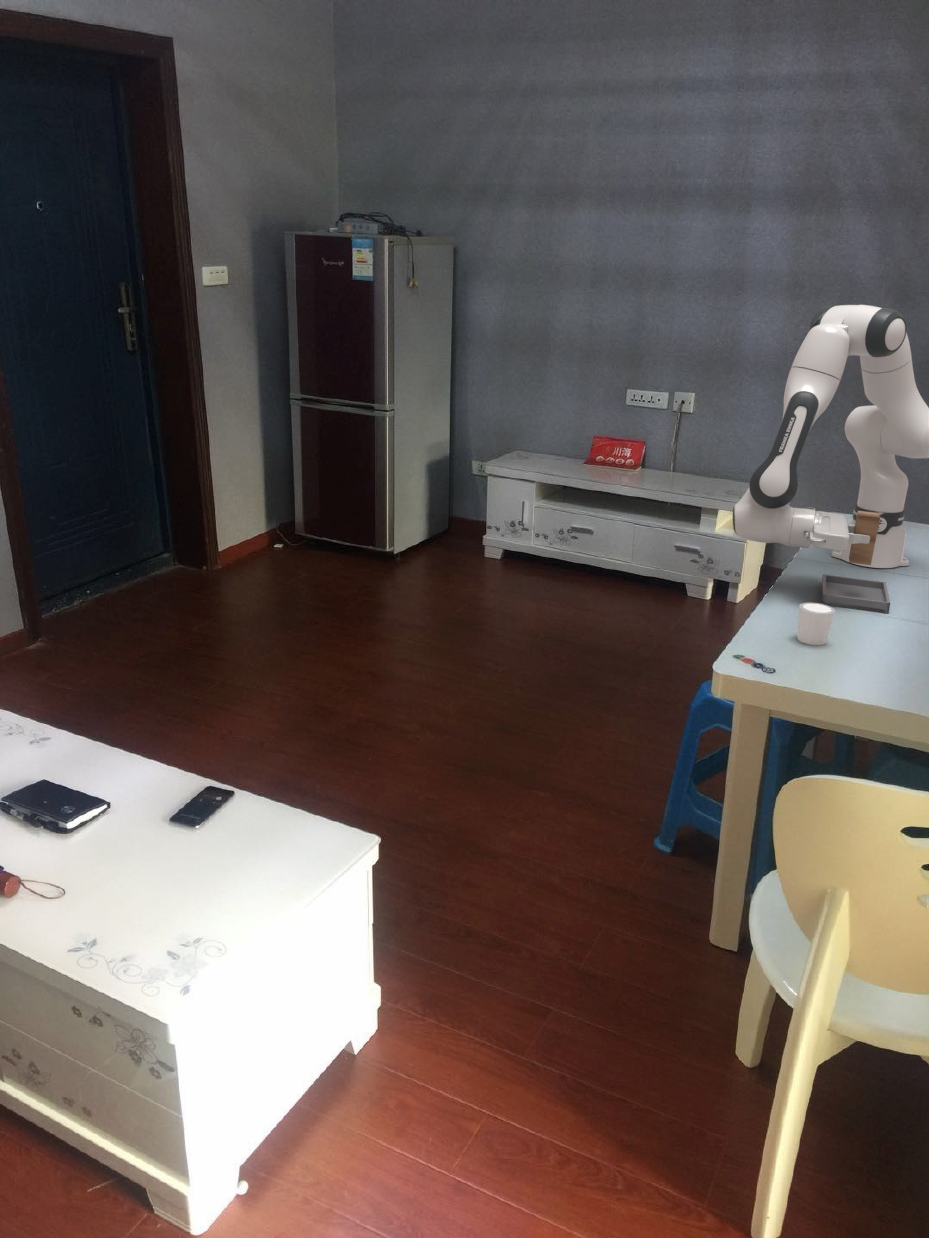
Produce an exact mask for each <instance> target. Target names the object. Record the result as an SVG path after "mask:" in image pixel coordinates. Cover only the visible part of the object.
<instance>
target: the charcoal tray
mask: <svg viewBox="0 0 929 1238" xmlns="http://www.w3.org/2000/svg"><path fill="white" fill-rule="evenodd" d="M820 584H821V585H820V589H821V592H820V594H821V595H820V598H821V599H820V600H821V604H824V605H827V606H830V607H837V608H846V609H852V610H859V611H867V612H874V613H879V614H880V613H881V614H889V613H890V612H889V611H890V608H891V599H890V596H889V595H890V594H889V591H888V587H887V582H886V581H878V580H870V579H863V578H855V577H847V576H841V575H832V574H831V575H830V574H825V573H824V574H822V578H821V583H820Z"/></svg>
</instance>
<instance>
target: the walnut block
mask: <svg viewBox="0 0 929 1238" xmlns="http://www.w3.org/2000/svg"><path fill="white" fill-rule="evenodd" d="M879 522H880V514H879V513H874V512H865V511H858V513H857V518H856V523H855V528H854V534H868V535H870V541H869V543H868V544H864V543H857V544H851V549H850V554H849V562H848V563H849V564H853V563H857V564H864V565H871V561H872V556H873V551H874V546H875V541H876V537H877V532H878V527H879Z"/></svg>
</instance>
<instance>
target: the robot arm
mask: <svg viewBox="0 0 929 1238" xmlns="http://www.w3.org/2000/svg"><path fill="white" fill-rule="evenodd" d="M911 350H912V349H911V346H910V340H909V337H908V333H907V323H906V320H905V318H904V316H903V315H902V313H901V312H899V311H897V310H895V309H893V308H888V307H879V306H875V305H869V304H868V305H867V304H842V305H841V304H839V303H836V304H835V303H834V304H827V305H825V306H822V307H821V308H819V309H818V310H817V311H816V313H815V314H814V315H813V317H812V319H811V321H810V323H809V329H808V333H807V334H806V336H805V338H804V339H803V341H802V343H801V344H800V347H799V349H798V350H797V353H796V355H795V357H794V360H793V361H792V364H791V367H790V369H789V373H788V375H787V376H788V377H787V379H786V383H785V389H784V394H783V411H782V413H783V414H782V420H781V423H780V425H779V428H778V431H777V433H776V437H775V439H774V441H773V444H772V446H771V449H770V452H769V453H768V456H767V457H766V459H765V460H764V461H763V462H762V463H761V464H760V465H759V466H758V467H757V468H756V469H755V471H753V474H751V477H750V480H749V485H748V488H747V490H746V492H745V493H744V494H743V496H742V497H741V498H740V499H739V500H738V501H737V502H736V503H735V504H734V505H733V509H732V528H733V531H734V533H735V534H736V535H737V537H739V538H740V539H742V540H743V539H744V540H746V541H750V542H751V541H752V542H756V543H764V544H774V543H777V544H782V545H784V546H787V547H788V546H789V547H796V548H802V549H810V546H811V545H812V546H813V547H816V548H819V549H824V550H829V551H830V550H831V551H832V552H831V553H830V554H831V557H833V558H837V559H840V560H843V561H845V562H847V563H849V554H850V549H851V544H857V543H864V544H868V543H869V541H870V535H868V534H854V528H855V523H856V518H857V513H858V511H865V512H874V513H879V514H880V522H879V527H878V532H877V537H876V541H875V546H874V551H873V556H872V561H871V565H864V564H857V563H852V565H853V564H854V565H857V566H861V567H867V568H875V569H894V568H897V567H905V566H910V561H909V559H908V558H906V557H905V556H904V551H905V546H906V540H907V532H906V531H905V529H904V528H903V527H902V525H903V523H904V519H905V510H904V508H905V503H906V498H907V493H908V488H909V479H908V476H907V475H906V473H905V472H903V471H902V470H901V469H900V467H899V466H898V464H897V462H896V456H899V457H904V458H909V459H929V406H928V404H927V403H926V402H925V400H924V399H923V397H922V396H921V394H920V392H919V389H918V387H917V384H916V379H915V373H914V367H913V366H914V365H913V359H912V351H911ZM849 356H852V357H853V356H857V357H858V356H859V360H860V361H859V362H860V369H861V377H862V383H863V389H864V391H863V392H864V395H865V397H866V399H867V400H868V401H869V402H870V403H871V404H872V405H863V406H857V407H855V408H854V409H853V410H852V411H851V412H850V414H849V415H848V416H847V418H846V420H845V423H844V434H845V437H846V439H847V441H848V442H849V443H850V444H851V446H852V447H853V449H854V450H855V453H856V455H857V458H858V462H859V466H860V467H859V468H860V481H859V491H858V495H857V503H856V504H855V505H854V508H853V511H852V512H853V513H852V521H850V523H848V517H846V516H845V515H842V514H838V513H834V512H833V513H832V512H828V511H823V510H816V508H815V507H808V506H807V507H804V508H801V507H800V508H799V507H792V506H791V505H790V502H791V501H792V500H793V499H794V497H795V496H796V493H797V490H798V485H799V484H798V481H799V480H798V470H797V469H798V464H799V460H800V456H802V455H801V454H802V452H803V449H804V446H805V444H806V441H807V438H808V436H809V433H810V431H811V429H812V427H813V425H814V424H815V422H816V421H817V419H818V418H819V417H820V416H822V414H823V413H824V412H825V411H826V410H827V408H828V406H829V405H830V403H831V401H832V400H833V397H834V396H835V395H836V394H835V393H837V390H838V387H839V385H840V382H841V379H842V377H843V374H844V371H845V366H846V363H847V360H848V357H849Z"/></svg>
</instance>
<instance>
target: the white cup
mask: <svg viewBox="0 0 929 1238" xmlns="http://www.w3.org/2000/svg"><path fill="white" fill-rule="evenodd" d="M835 613H836V610H835V608H833V606H829V605H824V604H822V603H819V602H804V603H800V604H799V606H798V619H797V620H798V621H797V634H796V635H797V637H796V639H797V638H798V639H797V640H798V641H799V642H801V643H803V644H806V645H810V646H823V645H825V644H826V643H827V641H828V637H829V634H830V630H831V626H832V623H833V621H834V616H835Z"/></svg>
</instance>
